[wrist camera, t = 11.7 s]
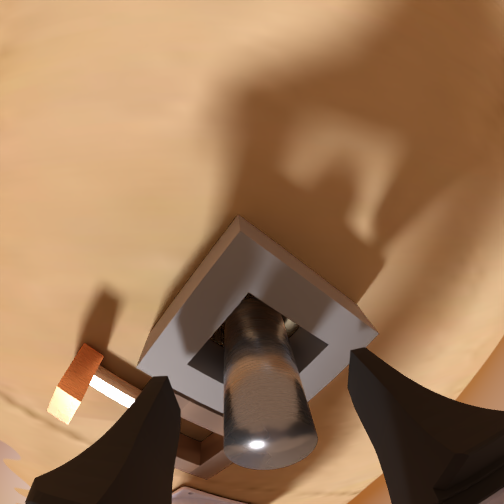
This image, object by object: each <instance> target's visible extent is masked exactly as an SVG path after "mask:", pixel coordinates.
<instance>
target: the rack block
mask: <svg viewBox="0 0 504 504" xmlns="http://www.w3.org/2000/svg"><path fill="white" fill-rule="evenodd" d="M248 293H251V294H252V295H254V296H255V297H256V298H258V299H259V300H261V301H262V302H264V303H265V304H267V305H269V306H270V307H272V308H273V309H275V310H276V311H278V312H279V313H281V314H282V315H284V316H285V317H287V318H288V319H290V320H291V321H293V322H294V323H296V324H297V325H299V326H300V327H299V328H298V330H297V331H296V332H295V333H294V334H293V335H292V336H291V337H290V338H289V342H290V345H291V349H292V352H293V355H294V359H295V362H296V365H297V369H298V372H299V375H300V379H301V382H302V385H303V389H304V392H305V396H306V399H307V402H308V401H309V400H310V399H312V398H313V397H314V396H315V395H316V394H317V393H318V392H320V391H321V390H322V389H323V388H324V387H325V386H326V385H327V384H328V383H329V382H331V381H332V380H333V379H334V378H335V377H336V376H337V375H338V374H339V373H340V372H341V371H342V370H343V369H344V368H345V367H346V366H347V365H349V362H350V350H353V349H358V348H362V347H365V348H366V347H367V346H368V344H369V343H370V342H371V341H372V340H373V339H374V338H375V337H376V336H377V335H378V334H379V333H378V332H377V331H376V329H375V328H374V327H373V325H372V324H371V323H370V321H369V320H368V319H367V317H366V316H365V315H364V313H363V312H362V311H361V309H360V308H359V307H358V306H357V304H355V303H354V302H353V301H352V300H350V299H349V298H348V297H346V296H345V295H344V294H343V293H341V292H340V291H339V290H337V289H336V288H335V287H333V286H332V285H331V284H330V283H328V282H327V281H326V280H324V279H323V278H322V277H320V276H319V275H318V274H317V273H315V272H314V271H313V270H311V269H310V268H309V267H307V266H306V265H305V264H303V263H302V262H301V261H300V260H298V259H297V258H296V257H294V256H293V255H292V254H290V253H289V252H288V251H286V250H285V249H284V248H282V247H281V246H280V245H278V244H277V243H276V242H274V241H273V240H272V239H270V238H269V237H268V236H266V235H265V234H264V233H262V232H261V231H260V230H258V229H257V228H256V227H254V226H253V225H252V224H250V223H249V222H248V221H246V220H245V219H244V218H242V217H241V216H240V215H237V217H236V218H235V219H234V220H233V222H232V223H231V224H230V226H229V227H228V228H227V230H226V231H225V232H224V233H223V235H222V236H221V237H220V239H219V240H218V241H217V243H216V244H215V245H214V246H213V248H212V249H211V250H210V252H209V253H208V254H207V256H206V257H205V258H204V260H203V261H202V262H201V264H200V265H199V266H198V268H197V269H196V270H195V272H194V273H193V274H192V276H191V277H190V278H189V280H188V281H187V282H186V284H185V285H184V286H183V288H182V289H181V291H180V292H179V293H178V295H177V296H176V297H175V299H174V300H173V301H172V303H171V304H170V306H169V307H168V308H167V310H166V311H165V312H164V314H163V315H162V317H161V318H160V319H159V321H158V322H157V323H156V325H155V326H154V328H153V329H152V330H151V332H150V333H149V336H148V338H147V341H146V343H145V346H144V348H143V351H142V354H141V356H140V359H139V361H138V364H137V367H136V368H138V369H140V370H141V371H143V372H145V373H146V374H148V375H150V376H151V377H153V376H168V378H169V381H170V383H171V386H172V388H173V389H175V390H177V391H179V392H181V393H183V394H184V395H186V396H188V397H190V398H192V399H194V400H196V401H198V402H200V403H202V404H204V405H206V406H208V407H211V408H213V409H215V410H217V411H219V412H221V413H223V407H224V348H223V347H222V346H220V345H218V344H217V343H215V342H213V341H212V340H210V339H209V338H210V337H211V336H212V335H213V334H214V333H215V331H216V330H217V329H218V328H219V327H220V326H221V324H222V323H223V322H224V321H225V320H226V318H227V317H228V316H229V315H230V314H231V313H232V311H233V310H234V309H235V308H236V307H237V306H238V304H239V303H240V302H241V301H242V300H243V298H244V297H245V296H246V295H247V294H248Z"/></svg>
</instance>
